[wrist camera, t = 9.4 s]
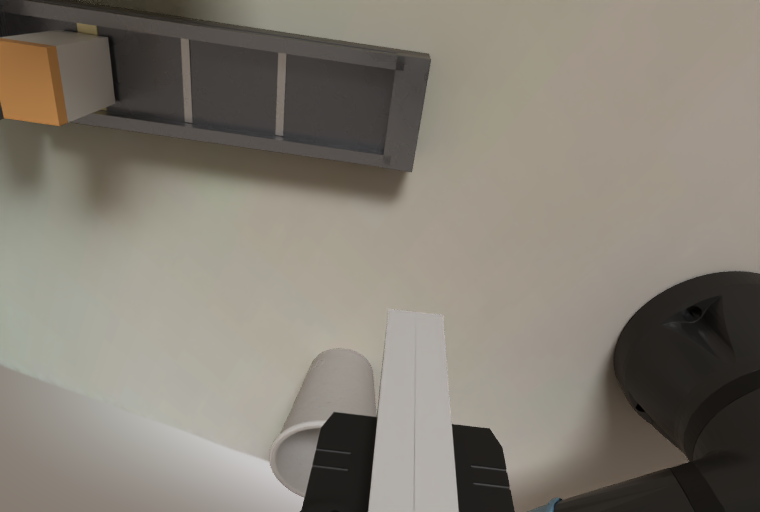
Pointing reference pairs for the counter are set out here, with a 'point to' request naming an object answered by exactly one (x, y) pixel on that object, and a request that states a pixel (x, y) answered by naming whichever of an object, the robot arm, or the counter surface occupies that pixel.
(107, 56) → the fader tab
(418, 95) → the tray
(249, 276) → the counter surface
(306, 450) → the dixie cup
